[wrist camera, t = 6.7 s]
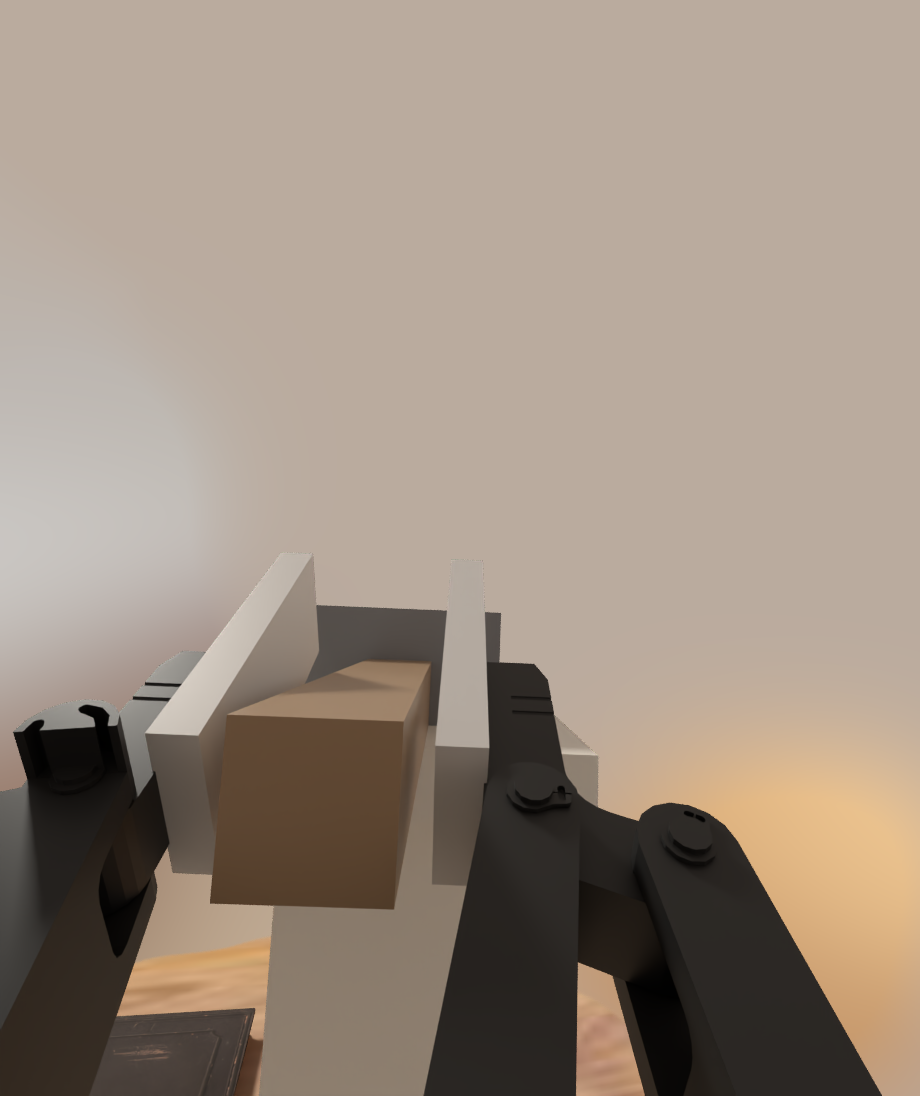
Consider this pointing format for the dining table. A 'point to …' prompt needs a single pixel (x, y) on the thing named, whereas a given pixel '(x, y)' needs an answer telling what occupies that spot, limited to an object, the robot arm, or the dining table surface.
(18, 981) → the robot arm
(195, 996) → the dining table surface
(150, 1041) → the hardcover book
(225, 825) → the brown and grey bar
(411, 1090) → the stand
